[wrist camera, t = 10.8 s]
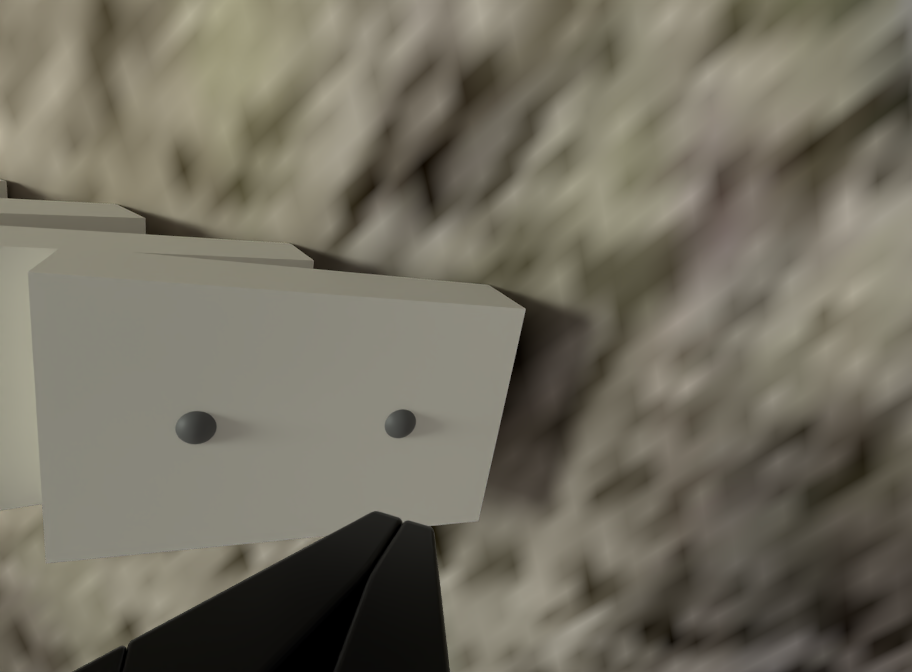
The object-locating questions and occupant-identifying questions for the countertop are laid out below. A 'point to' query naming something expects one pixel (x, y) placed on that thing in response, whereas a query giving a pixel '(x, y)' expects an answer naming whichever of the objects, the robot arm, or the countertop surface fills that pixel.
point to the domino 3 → (257, 400)
